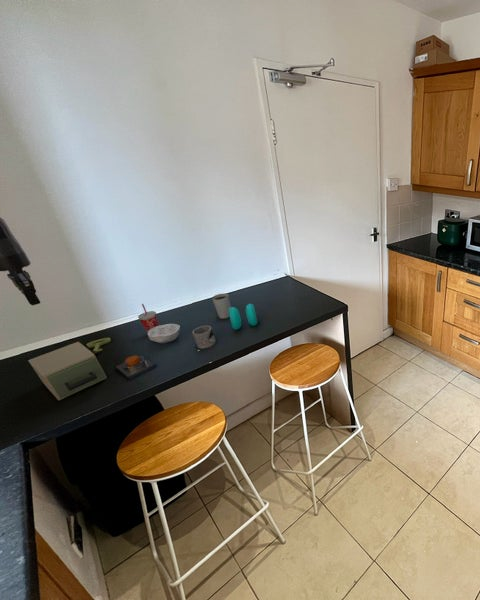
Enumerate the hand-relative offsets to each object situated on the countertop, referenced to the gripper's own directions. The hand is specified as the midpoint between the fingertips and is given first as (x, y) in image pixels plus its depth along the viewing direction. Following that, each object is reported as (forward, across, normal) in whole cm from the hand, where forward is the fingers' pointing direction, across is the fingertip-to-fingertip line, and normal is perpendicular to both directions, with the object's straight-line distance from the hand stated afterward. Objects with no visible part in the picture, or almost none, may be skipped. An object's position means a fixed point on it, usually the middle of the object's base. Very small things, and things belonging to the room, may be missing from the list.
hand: (35, 303), depth 101 cm
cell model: (+27, +8, +27) cm, 39 cm away
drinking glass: (+27, +9, +52) cm, 59 cm away
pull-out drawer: (+26, +12, -2) cm, 29 cm away
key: (+27, -10, +10) cm, 31 cm away
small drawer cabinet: (+27, +8, -2) cm, 28 cm away
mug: (+27, +23, +35) cm, 50 cm away
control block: (+27, +18, +12) cm, 35 cm away
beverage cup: (+27, -3, +27) cm, 38 cm away
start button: (+24, +18, +12) cm, 33 cm away
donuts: (+27, +26, +51) cm, 63 cm away
